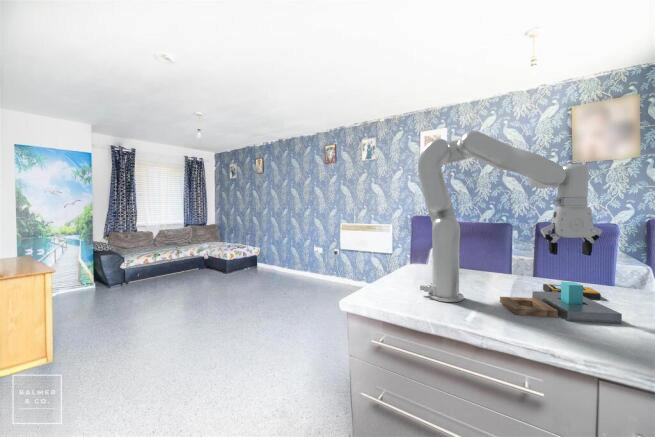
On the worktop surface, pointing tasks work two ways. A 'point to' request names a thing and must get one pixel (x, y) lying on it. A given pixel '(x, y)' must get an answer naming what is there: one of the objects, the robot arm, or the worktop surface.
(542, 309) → the wooden square tray
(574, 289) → the plug
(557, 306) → the panel
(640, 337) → the worktop surface
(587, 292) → the electronic device
